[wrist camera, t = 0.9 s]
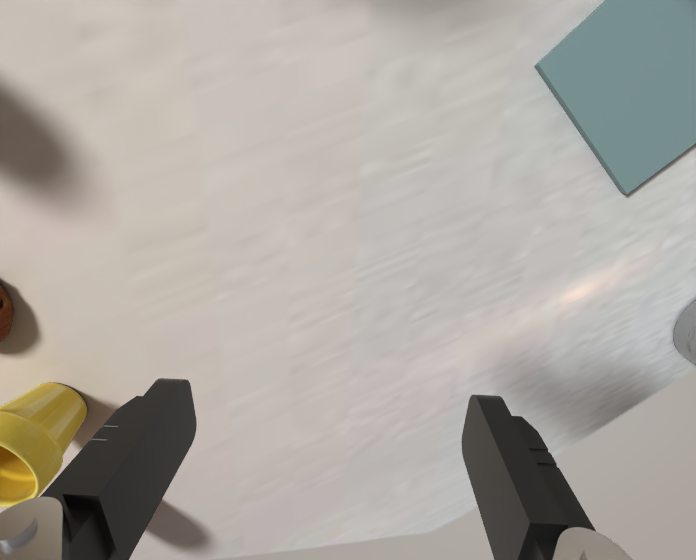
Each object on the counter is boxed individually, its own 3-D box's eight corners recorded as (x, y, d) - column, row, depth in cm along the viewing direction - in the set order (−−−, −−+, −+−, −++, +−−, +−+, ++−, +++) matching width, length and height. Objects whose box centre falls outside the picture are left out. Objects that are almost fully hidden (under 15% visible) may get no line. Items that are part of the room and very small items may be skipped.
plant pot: (54, 443, 47) (-19, 517, 38) (0, 383, 44) (-94, 448, 35) (119, 424, 46) (60, 496, 37) (69, 359, 42) (-11, 422, 33)
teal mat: (707, -95, 25) (718, -102, 25) (785, 69, 29) (796, 68, 28) (534, 66, 29) (538, 64, 29) (621, 192, 33) (627, 194, 32)
